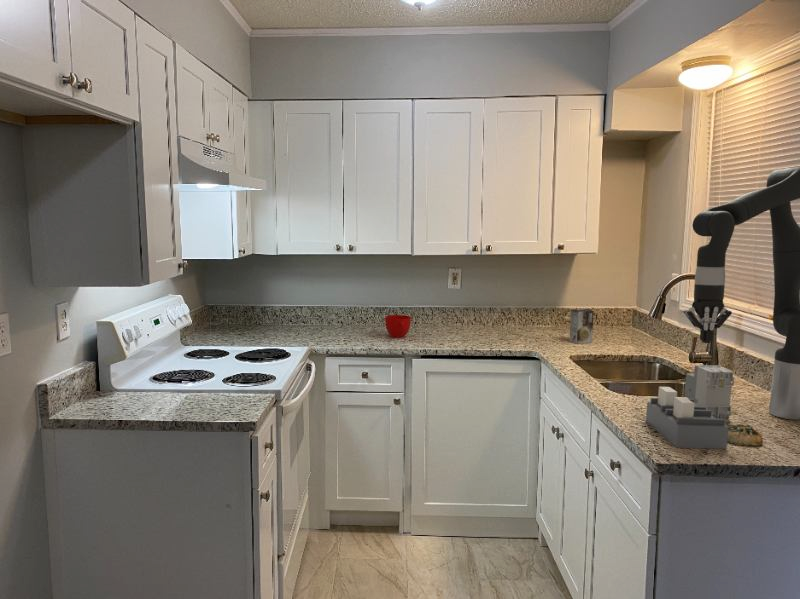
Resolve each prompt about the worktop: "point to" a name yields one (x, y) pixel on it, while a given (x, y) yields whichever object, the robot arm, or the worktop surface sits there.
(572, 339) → the coffee box
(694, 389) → the circuit breaker
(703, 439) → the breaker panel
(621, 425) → the worktop surface
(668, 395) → the block
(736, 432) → the bread roll
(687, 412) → the breaker
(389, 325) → the ceramic cup
